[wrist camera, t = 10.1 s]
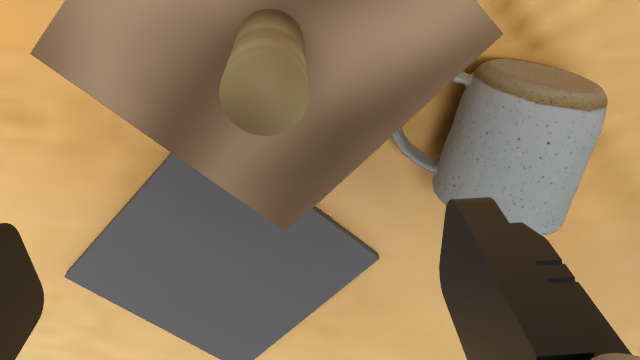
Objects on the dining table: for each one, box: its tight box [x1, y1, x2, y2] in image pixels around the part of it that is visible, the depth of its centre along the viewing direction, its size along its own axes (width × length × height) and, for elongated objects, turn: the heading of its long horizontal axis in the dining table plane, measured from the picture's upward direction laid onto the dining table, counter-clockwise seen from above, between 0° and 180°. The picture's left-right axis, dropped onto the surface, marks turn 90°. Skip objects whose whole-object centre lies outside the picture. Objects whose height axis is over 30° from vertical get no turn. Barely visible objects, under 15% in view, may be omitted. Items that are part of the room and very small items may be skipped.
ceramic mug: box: [392, 59, 607, 236], centre depth 27 cm, size 11×8×8 cm
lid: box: [30, 0, 503, 232], centre depth 18 cm, size 14×14×7 cm
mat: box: [64, 153, 379, 360], centre depth 35 cm, size 16×16×1 cm
